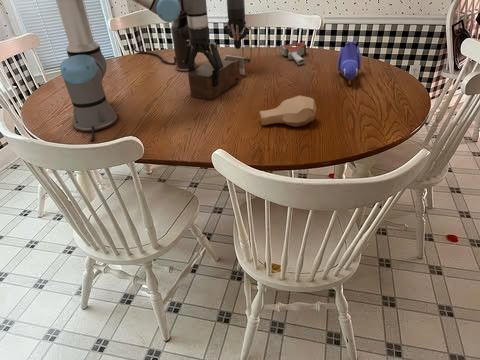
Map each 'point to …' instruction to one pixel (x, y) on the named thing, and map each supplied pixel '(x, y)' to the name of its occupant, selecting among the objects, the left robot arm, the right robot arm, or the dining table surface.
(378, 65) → the dining table surface
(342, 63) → the toy
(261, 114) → the squash
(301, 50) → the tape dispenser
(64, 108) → the dining table surface
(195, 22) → the left robot arm
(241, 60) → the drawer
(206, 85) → the dark brown box
